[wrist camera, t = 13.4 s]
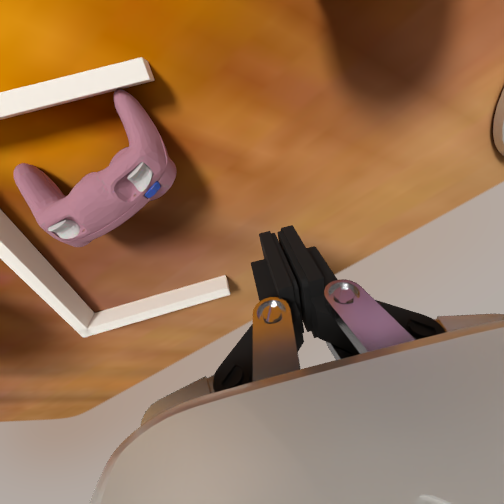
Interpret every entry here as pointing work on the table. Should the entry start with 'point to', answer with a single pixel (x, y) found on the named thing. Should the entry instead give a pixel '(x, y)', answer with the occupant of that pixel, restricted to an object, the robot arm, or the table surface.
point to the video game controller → (103, 183)
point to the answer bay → (31, 260)
